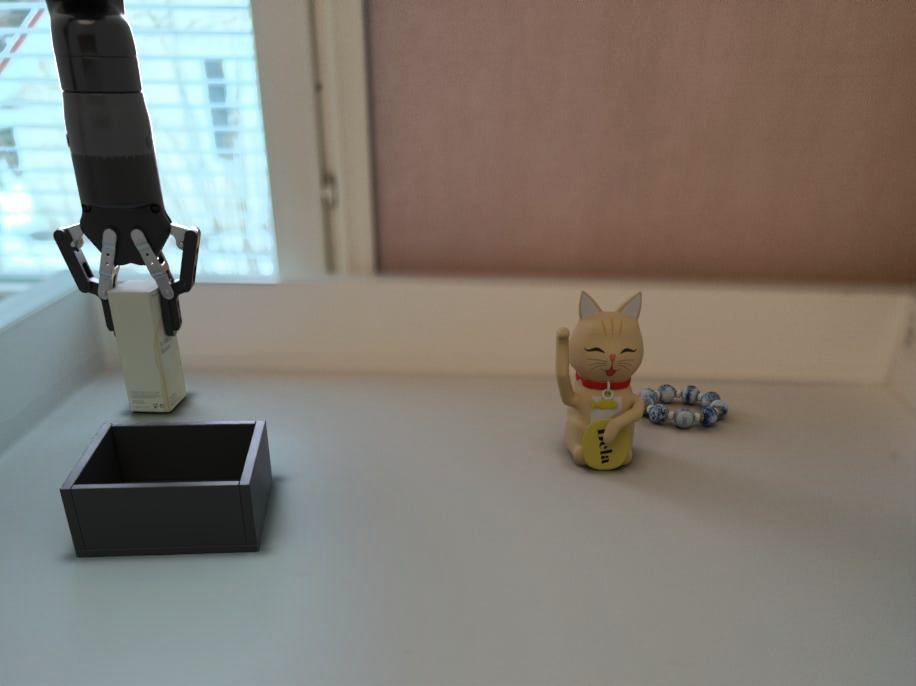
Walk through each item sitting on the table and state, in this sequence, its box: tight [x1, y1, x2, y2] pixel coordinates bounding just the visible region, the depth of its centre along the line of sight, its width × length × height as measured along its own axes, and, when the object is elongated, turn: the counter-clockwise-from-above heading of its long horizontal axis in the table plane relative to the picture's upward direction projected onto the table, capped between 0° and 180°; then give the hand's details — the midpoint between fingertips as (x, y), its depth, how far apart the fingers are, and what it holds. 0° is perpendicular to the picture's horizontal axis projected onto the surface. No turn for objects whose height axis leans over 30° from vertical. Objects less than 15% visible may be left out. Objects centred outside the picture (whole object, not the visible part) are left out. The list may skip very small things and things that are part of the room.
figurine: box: [554, 290, 645, 471], centre depth 84 cm, size 9×10×15 cm
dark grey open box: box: [59, 420, 273, 558], centre depth 74 cm, size 14×14×6 cm
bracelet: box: [638, 383, 729, 429], centre depth 98 cm, size 10×10×2 cm
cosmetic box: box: [107, 278, 187, 413], centre depth 94 cm, size 6×4×12 cm
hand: (146, 334), depth 94 cm, fingers closed on cosmetic box, 4 cm apart
